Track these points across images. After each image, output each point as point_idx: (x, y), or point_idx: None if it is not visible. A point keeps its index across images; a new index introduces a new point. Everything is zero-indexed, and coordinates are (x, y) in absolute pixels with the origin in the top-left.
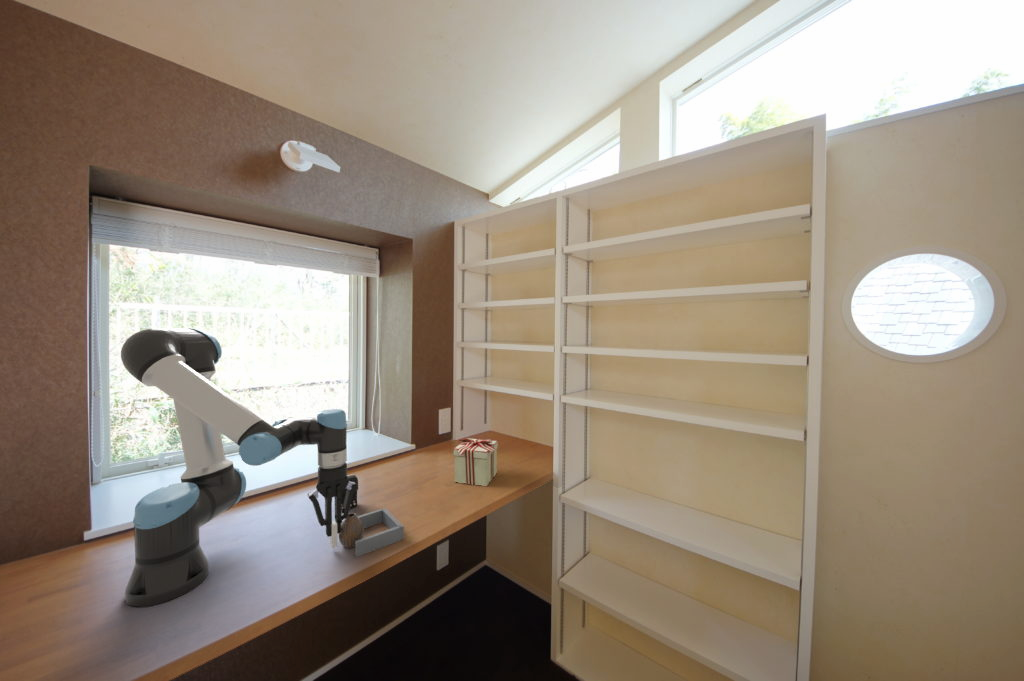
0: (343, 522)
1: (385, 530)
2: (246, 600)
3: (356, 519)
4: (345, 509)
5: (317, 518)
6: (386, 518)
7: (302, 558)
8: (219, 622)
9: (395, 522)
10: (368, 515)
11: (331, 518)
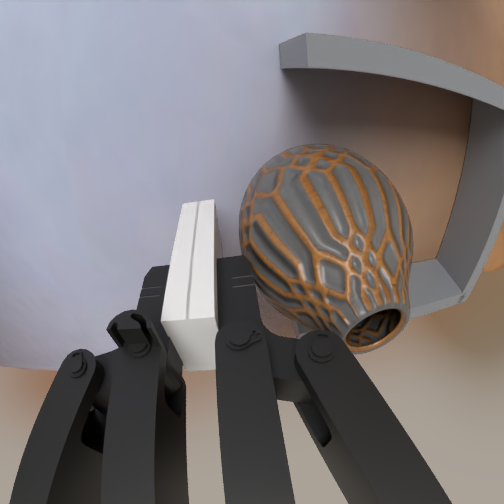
0: (292, 290)
1: (424, 305)
2: (13, 319)
3: (378, 323)
4: (324, 455)
5: (50, 395)
6: (493, 160)
7: (68, 201)
8: (10, 344)
9: (476, 266)
10: (472, 97)
11: (182, 427)
